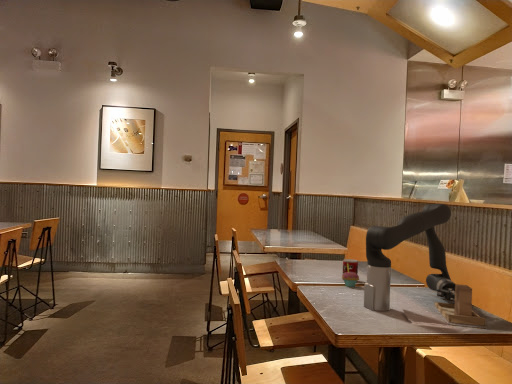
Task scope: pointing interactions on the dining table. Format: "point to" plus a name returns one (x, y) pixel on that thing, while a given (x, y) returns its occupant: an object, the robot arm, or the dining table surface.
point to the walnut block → (463, 300)
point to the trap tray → (449, 308)
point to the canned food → (350, 266)
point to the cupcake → (350, 278)
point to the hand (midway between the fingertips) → (460, 299)
